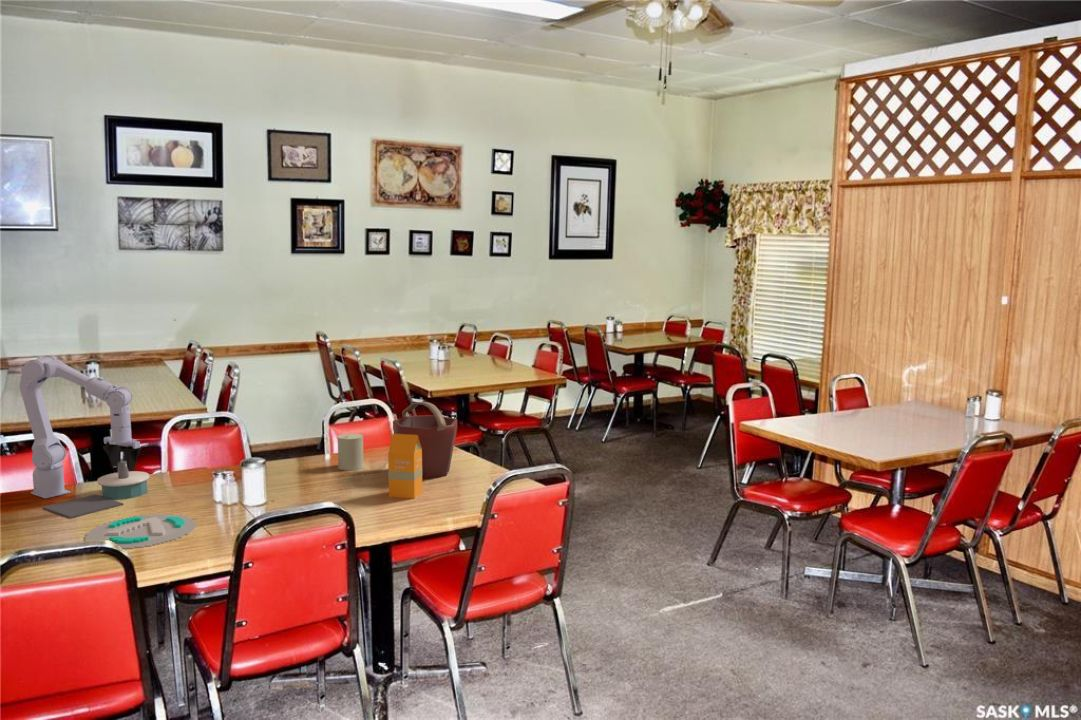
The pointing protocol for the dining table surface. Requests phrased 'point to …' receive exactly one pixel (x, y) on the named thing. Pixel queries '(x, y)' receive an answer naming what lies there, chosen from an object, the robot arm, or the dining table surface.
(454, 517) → the dining table surface
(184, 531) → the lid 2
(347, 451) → the can
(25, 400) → the robot arm
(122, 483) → the lid
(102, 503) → the mat
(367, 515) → the dining table surface
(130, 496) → the bowl
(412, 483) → the orange juice
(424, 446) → the bucket
